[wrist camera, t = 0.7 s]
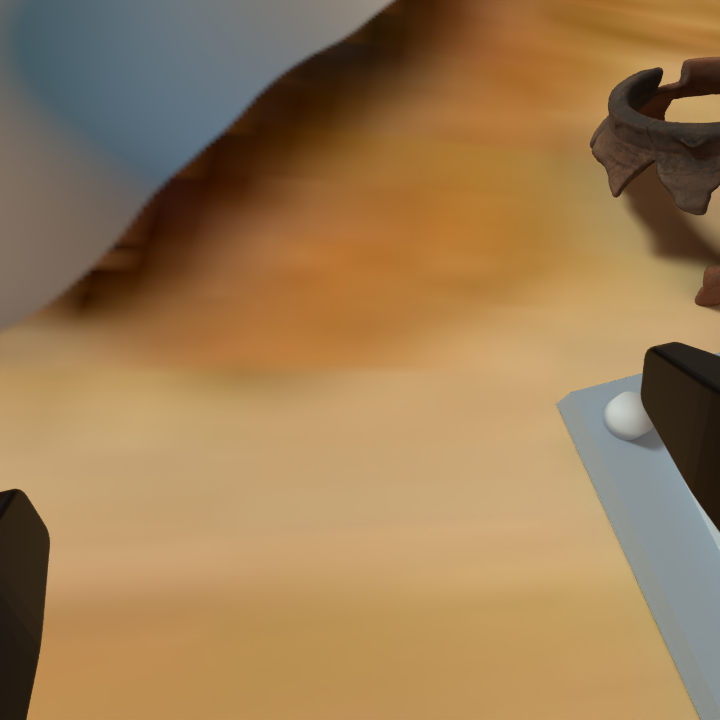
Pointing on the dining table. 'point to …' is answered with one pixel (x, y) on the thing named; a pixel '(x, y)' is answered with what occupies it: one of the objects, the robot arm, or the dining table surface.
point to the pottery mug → (665, 143)
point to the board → (655, 527)
